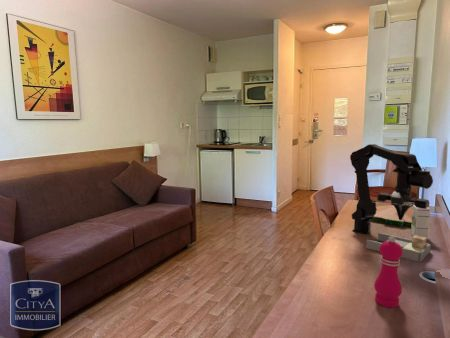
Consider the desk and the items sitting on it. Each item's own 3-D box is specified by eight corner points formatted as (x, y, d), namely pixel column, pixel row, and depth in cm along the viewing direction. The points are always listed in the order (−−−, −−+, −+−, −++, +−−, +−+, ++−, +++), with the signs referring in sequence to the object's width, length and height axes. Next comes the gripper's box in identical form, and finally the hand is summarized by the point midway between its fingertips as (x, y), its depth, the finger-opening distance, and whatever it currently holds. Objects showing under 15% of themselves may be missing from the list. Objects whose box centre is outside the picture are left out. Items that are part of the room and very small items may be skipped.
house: (366, 222, 175) (367, 207, 174) (378, 209, 202) (379, 197, 201) (415, 230, 162) (417, 215, 161) (421, 216, 189) (422, 202, 188)
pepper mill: (368, 295, 99) (373, 232, 96) (391, 295, 100) (396, 232, 97) (381, 309, 92) (387, 241, 89) (406, 308, 92) (412, 240, 90)
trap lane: (366, 247, 138) (366, 239, 137) (378, 239, 148) (378, 232, 147) (420, 262, 124) (421, 253, 123) (429, 252, 134) (430, 244, 133)
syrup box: (428, 239, 149) (431, 208, 147) (414, 238, 150) (417, 207, 148) (423, 235, 154) (426, 205, 152) (409, 234, 156) (412, 204, 154)
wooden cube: (411, 246, 133) (412, 237, 132) (414, 244, 136) (415, 235, 135) (422, 249, 130) (423, 239, 129) (425, 246, 133) (426, 237, 132)
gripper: (373, 183, 137) (370, 218, 139) (424, 190, 124) (419, 229, 126) (383, 180, 145) (380, 213, 147) (431, 186, 132) (427, 223, 134)
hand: (400, 219), depth 139 cm, fingers closed
